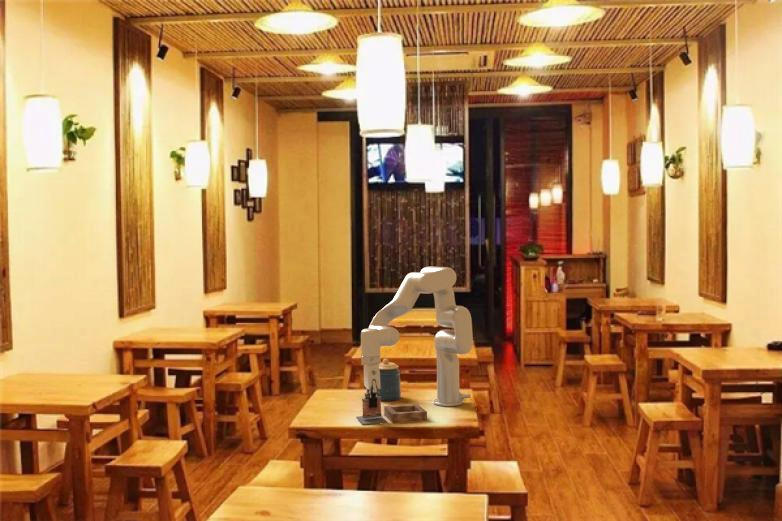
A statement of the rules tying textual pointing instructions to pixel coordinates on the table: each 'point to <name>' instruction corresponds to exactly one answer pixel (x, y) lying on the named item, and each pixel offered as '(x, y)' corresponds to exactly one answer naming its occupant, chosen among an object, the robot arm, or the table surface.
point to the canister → (389, 381)
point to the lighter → (371, 411)
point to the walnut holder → (405, 413)
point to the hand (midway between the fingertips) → (371, 405)
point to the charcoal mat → (371, 420)
